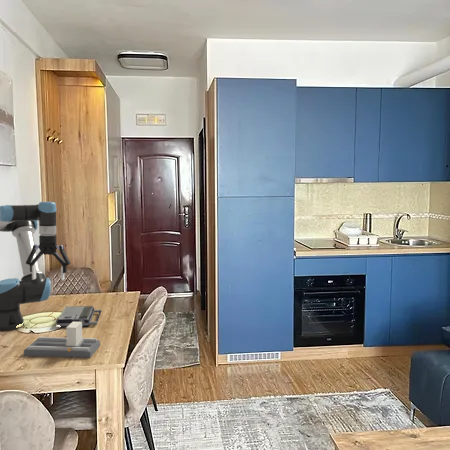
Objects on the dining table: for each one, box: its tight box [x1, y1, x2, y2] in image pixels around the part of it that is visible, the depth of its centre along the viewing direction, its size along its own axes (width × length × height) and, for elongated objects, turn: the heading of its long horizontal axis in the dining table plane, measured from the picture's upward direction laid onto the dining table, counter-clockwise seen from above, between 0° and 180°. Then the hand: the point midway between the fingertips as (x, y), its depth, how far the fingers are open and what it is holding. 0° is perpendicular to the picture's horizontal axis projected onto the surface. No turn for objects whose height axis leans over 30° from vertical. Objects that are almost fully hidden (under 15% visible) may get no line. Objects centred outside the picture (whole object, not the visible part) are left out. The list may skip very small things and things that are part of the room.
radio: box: [55, 305, 102, 329], centre depth 239 cm, size 24×5×20 cm
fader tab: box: [64, 322, 84, 347], centre depth 196 cm, size 6×8×9 cm
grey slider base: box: [23, 336, 101, 359], centre depth 197 cm, size 28×14×4 cm, turn 89°
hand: (48, 279), depth 214 cm, fingers open, 13 cm apart
